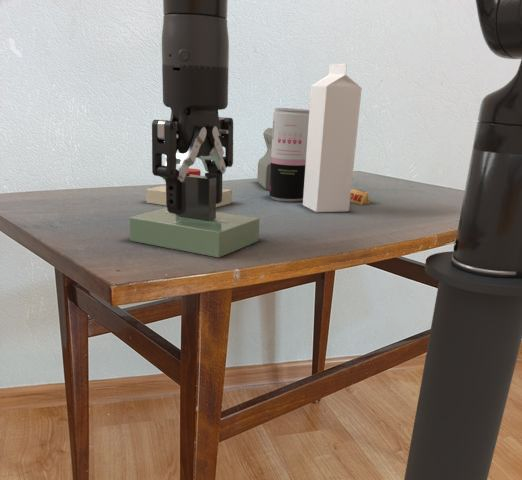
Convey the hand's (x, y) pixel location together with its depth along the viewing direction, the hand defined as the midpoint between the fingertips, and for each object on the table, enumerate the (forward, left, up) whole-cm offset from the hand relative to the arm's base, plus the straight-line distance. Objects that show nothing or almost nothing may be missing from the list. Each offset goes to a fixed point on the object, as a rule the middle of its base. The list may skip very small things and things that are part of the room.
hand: (195, 207), depth 74 cm
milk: (-5, -32, -4) cm, 33 cm away
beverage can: (+4, -36, -4) cm, 36 cm away
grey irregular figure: (+11, -48, -4) cm, 49 cm away
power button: (+15, -21, -1) cm, 26 cm away
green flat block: (0, 0, -4) cm, 4 cm away
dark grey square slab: (0, 0, -1) cm, 1 cm away
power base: (+15, -21, -4) cm, 26 cm away
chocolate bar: (-4, -44, -5) cm, 44 cm away
